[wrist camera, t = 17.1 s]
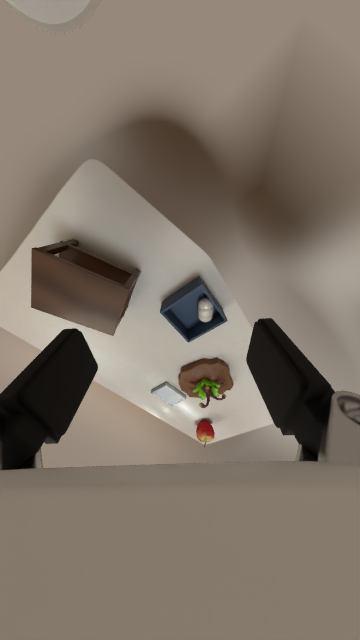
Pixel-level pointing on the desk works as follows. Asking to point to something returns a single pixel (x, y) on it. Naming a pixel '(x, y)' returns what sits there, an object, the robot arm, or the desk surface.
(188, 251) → the desk surface
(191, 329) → the bin
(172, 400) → the hard drive
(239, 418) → the desk surface
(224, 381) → the plant
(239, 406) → the desk surface
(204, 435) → the apple
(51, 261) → the side table
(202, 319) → the white capsule
